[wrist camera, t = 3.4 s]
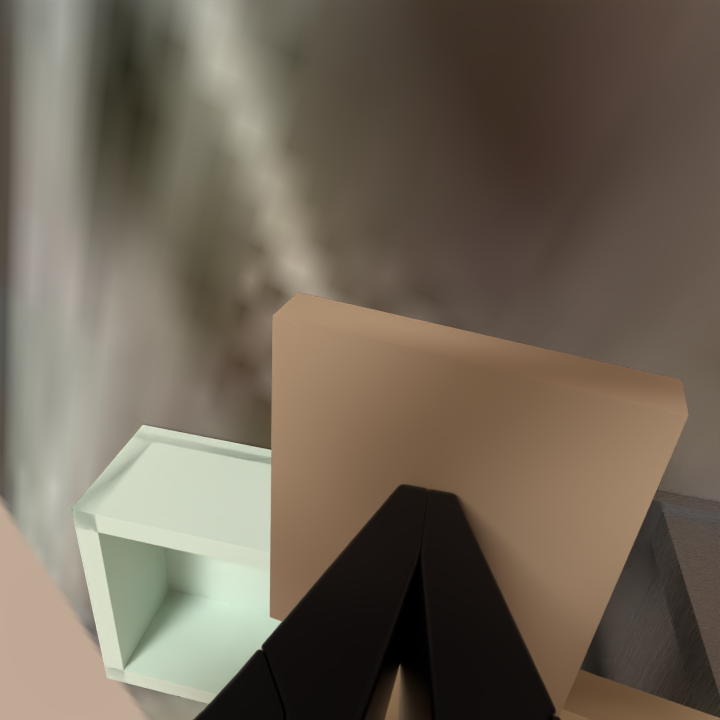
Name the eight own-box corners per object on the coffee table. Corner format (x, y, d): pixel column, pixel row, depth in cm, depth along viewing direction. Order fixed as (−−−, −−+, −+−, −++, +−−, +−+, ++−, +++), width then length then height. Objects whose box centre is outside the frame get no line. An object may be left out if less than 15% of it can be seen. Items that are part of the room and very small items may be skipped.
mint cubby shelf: (492, 493, 17) (489, 600, 14) (452, 650, 20) (443, 763, 17) (142, 425, 18) (71, 509, 15) (161, 584, 22) (106, 678, 19)
